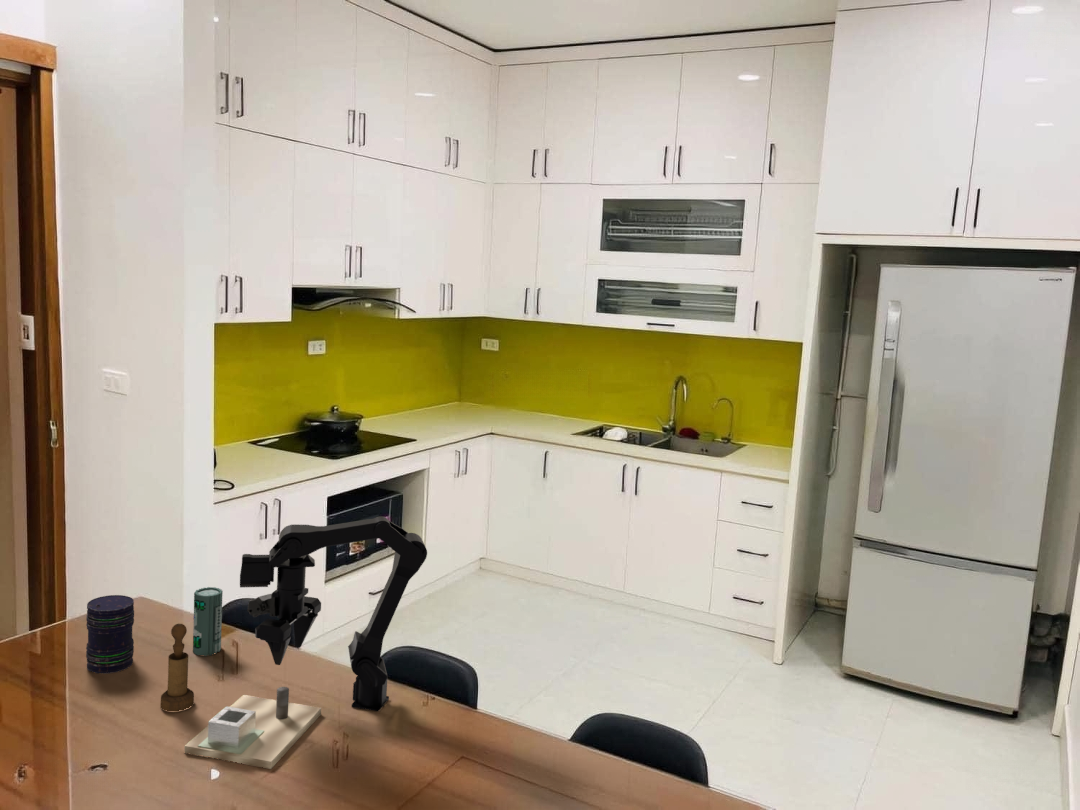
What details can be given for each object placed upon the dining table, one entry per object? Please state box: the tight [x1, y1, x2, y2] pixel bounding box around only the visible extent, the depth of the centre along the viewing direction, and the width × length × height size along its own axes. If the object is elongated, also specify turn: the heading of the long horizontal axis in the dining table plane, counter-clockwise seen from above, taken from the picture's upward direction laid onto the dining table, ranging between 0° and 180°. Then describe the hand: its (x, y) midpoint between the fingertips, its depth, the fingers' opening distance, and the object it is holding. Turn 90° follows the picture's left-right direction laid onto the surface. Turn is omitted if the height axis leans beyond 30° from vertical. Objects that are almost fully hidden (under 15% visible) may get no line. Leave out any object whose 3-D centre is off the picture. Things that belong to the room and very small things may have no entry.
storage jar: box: [85, 594, 135, 675], centre depth 199 cm, size 10×10×15 cm
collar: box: [207, 705, 256, 749], centre depth 169 cm, size 6×6×4 cm
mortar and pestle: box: [160, 623, 195, 711], centre depth 182 cm, size 7×6×18 cm
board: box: [183, 686, 322, 770], centre depth 175 cm, size 18×22×8 cm
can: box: [192, 586, 224, 657], centre depth 210 cm, size 6×6×15 cm
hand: (288, 655), depth 184 cm, fingers open, 9 cm apart
